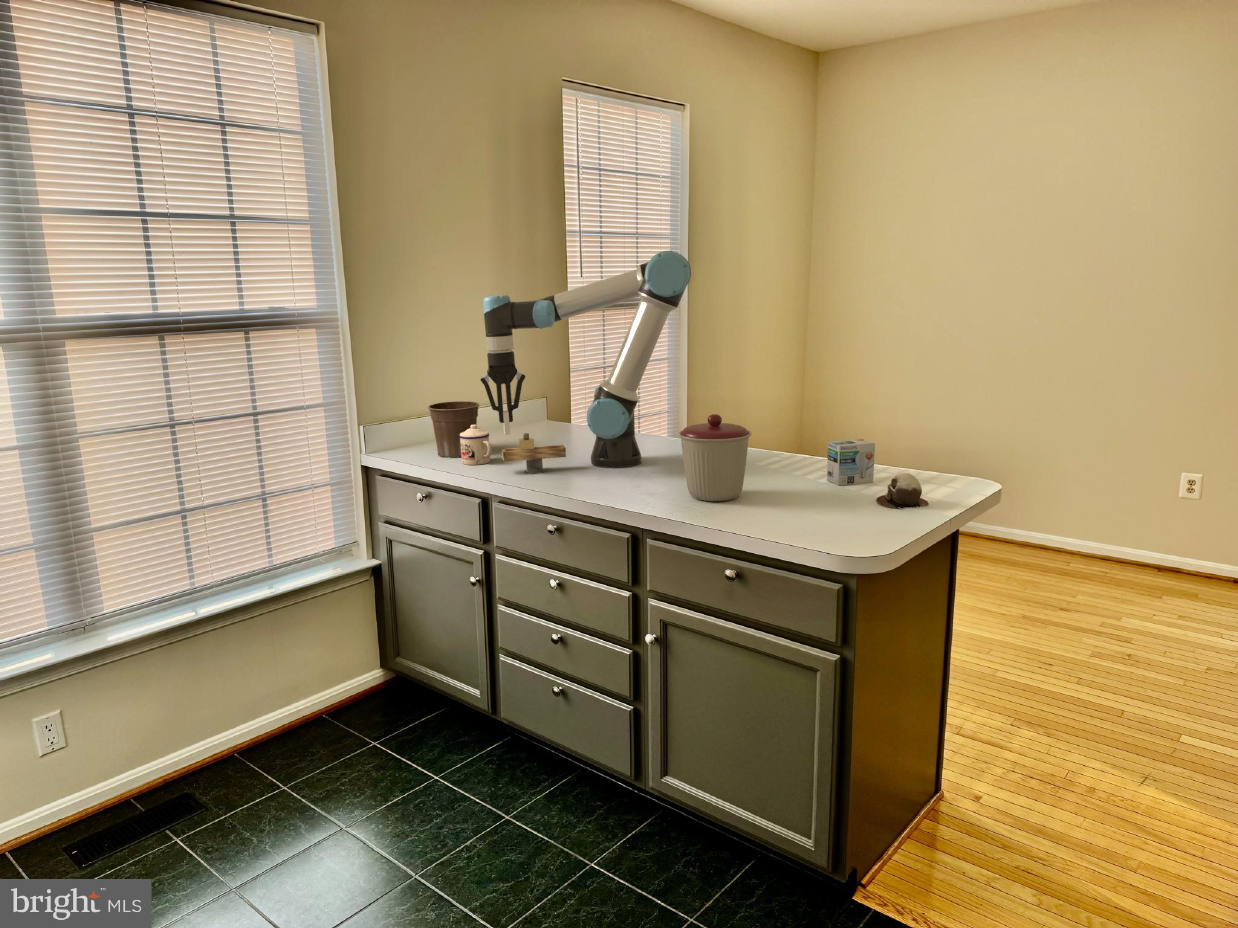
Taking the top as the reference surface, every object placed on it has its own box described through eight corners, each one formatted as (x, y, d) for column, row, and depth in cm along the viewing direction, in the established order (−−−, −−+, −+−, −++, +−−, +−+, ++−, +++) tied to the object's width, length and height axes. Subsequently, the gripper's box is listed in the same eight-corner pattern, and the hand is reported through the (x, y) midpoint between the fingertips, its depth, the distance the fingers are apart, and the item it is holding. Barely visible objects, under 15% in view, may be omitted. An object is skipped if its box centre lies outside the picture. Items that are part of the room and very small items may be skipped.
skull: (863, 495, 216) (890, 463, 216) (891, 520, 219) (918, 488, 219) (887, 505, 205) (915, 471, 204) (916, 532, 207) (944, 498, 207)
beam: (563, 466, 262) (562, 444, 260) (566, 470, 256) (565, 448, 255) (502, 471, 258) (501, 448, 257) (504, 475, 252) (503, 452, 251)
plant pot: (473, 459, 275) (469, 408, 272) (423, 459, 278) (420, 408, 274) (488, 449, 291) (485, 401, 287) (442, 449, 293) (438, 401, 290)
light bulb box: (838, 486, 230) (839, 445, 227) (825, 480, 236) (826, 441, 234) (874, 482, 233) (876, 442, 230) (861, 477, 239) (862, 438, 237)
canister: (694, 509, 212) (693, 422, 207) (669, 492, 228) (667, 411, 224) (763, 501, 216) (764, 417, 212) (733, 485, 233) (733, 406, 229)
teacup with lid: (455, 463, 271) (452, 425, 269) (478, 458, 278) (476, 421, 275) (479, 468, 263) (477, 429, 261) (503, 462, 270) (501, 425, 267)
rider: (533, 451, 257) (532, 432, 256) (534, 453, 255) (533, 434, 253) (519, 452, 256) (518, 433, 255) (520, 454, 254) (519, 434, 253)
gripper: (522, 348, 253) (528, 429, 258) (476, 352, 250) (483, 433, 255) (525, 350, 246) (531, 433, 251) (478, 354, 243) (485, 438, 248)
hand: (507, 433), depth 253 cm, fingers closed
